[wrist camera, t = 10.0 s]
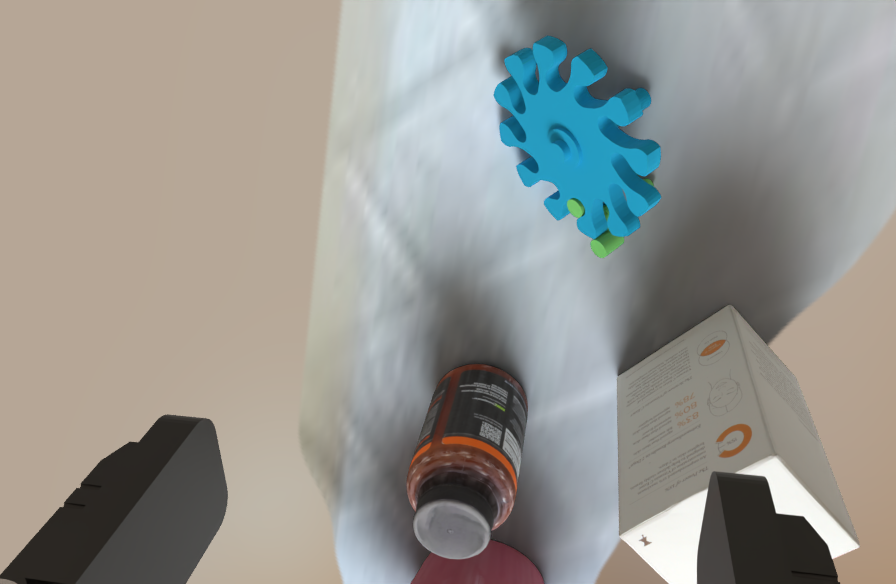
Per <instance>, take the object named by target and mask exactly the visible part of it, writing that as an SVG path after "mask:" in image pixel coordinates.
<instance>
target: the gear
mask: <svg viewBox="0 0 896 584" xmlns="http://www.w3.org/2000/svg"><path fill="white" fill-rule="evenodd" d="M566 56H567V47H566V44H565V43H564V42H563V41H561V40H559V39H558V38H555V37H552V36H546V37H544V38H542V39H540V40H539V41H537V42H535V43H534V44H533V51H532V49H531V48H524V49H521V50H519V51H518V52H516V53H514V54H512V55H510V56H509V57H507V58H505V59H504V61H505V66H506V68H507V70H508V71H509V73H510V74H511V75H512V76H511V77H509V78H508V79H506V80H504V81H502V82H501V83H499V84H498V85H497V87H496V89H495V92H494V98H495V99H496V101H497V102H498V103H499V104H500V105H501V106H502V107H504V108H506V109H507V110H509V111H510V112H511V113H512V114H513V115H514V116H511V117H510V118H508V119H506V120H505V121H503V122H501V123H500V136H501V141H502V142H503V143H504V144H505V145H507V146H509V147H511V146H515V147H519V148H521V149H523V150H524V151H526V152H527V153H528V154H530V155H531V156H532V157H529V158H528V159H526V160H525V161H523V162H522V163H520V164H518V165H517V166H516V167H517V171H518V174H519V176H520V178H521V180H522V182H523V184H524V185H525V186H527V187H531V186H532V185H534V184H535V183H537V182H538V181H540V180H544V181H549V182H552V183H553V184H554V185H556V187H557V188H558V190H559V191H557V192H555V193H554V194H552V195H551V196H549V197H548V198H546V199H545V201H544V205H545V206H546V208H547V209H548V211H549V212H550V213H551V214H552V215H553V217H554V218H555V219H556V220H561V219H562V218H564V217H565V216H566V215H568V214H569V213H571V214H572V215H573V216H575V217H577V218H578V220H577V227H578V229H579V230H580V231H581V232H582V233H584V234H585V235H587V236H588V237H590V238H593V239H594V240H592V241H591V244H590V245H591V249H592V251H593V252H594V253H595V254H596V255H597V256H598V257H600V258H604V257H606V256H607V255H608V254H610V253H611V252H612V251H614V250H615V249H617V248H618V247H619V246H621V245H622V244H623V243H624V236H629V235H630V234H632V233H633V232H634V231H636V230H637V229H638V228H640V221H639V219H638V217H639V216H642V215H643V214H644V213H646V212H647V211H648V210H650V209H651V208H653V207H654V206H655V205H656V204H657V203H658V202H659V200H660V199H661V195H660V193H659V192H658V190H657V189H656V188H655V187H654V185H653V183H652V181H651V180H649V179H647V178H646V179H642V178H640V177H639V176H638V175H640V176H647V175H648V174H649V173H651V172H652V171H654V170H655V169H656V168H658V167H659V164H660V160H661V150H660V146H659V145H658V144H657V143H656V142H655V141H653V140H649V139H648V140H639V139H636V138H633V137H631V136H629V135H627V134H626V133H624V132H623V131H621V130H620V129H619V128H617V127H618V126H627V125H628V124H630V123H631V122H633V121H635V120H636V119H638V118H639V117H641V116H642V115H643V112H642V110H644V109H645V108H647V107H649V106H650V104H651V97H650V95H649V93H648V92H647V91H646V90H645V89H643V88H638V89H636V90H635V91H634V90H633V89H630V88H627V89H624V90H623V91H621V92H620V93H618V94H616V95H615V96H613V97H612V98H610V99H609V100H599V99H595V98H593V97H592V96H591V95H590V93H589V92H588V89H587V86H589V85H591V84H593V83H594V82H596V81H598V80H599V79H601V78H602V77H604V76H605V75H606V73H607V69H608V67H607V66H606V64H605V62H604V61H603V60H602V58H601V57H600V56H599V55H598V54H597V53H596V52H595V51H594V50H592V49H591V48H590V49H588V50H586V51H584V52H583V53H581V54H579V55H578V56H576V57H575V58H573V60H572V62H571V74H570V79H569V81H568V83H565V82H564V81H563V80H562V78H561V77H560V75H559V70H558V68H559V65H560V63H561V62H563V61H564V60H565V58H566ZM536 64H537V66H538V70H539V82H538V80H537V78H536V74H535V72H536ZM636 173H637V174H638V175H637V174H636Z"/></svg>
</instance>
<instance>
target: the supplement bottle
mask: <svg viewBox="0 0 896 584" xmlns="http://www.w3.org/2000/svg"><path fill="white" fill-rule="evenodd" d="M527 412H528V405H527V399H526V395H525V393H524V391H523V389H522V387H521V386H520V384H519V383H518V382H517V381H516V380H515V379H514V378H513V377H512V376H511V375H509V374H508V373H506V372H505V371H503V370H501V369H499V368H496V367H493V366H489V365H485V364H470V365H465V366H461V367H458V368H456V369H454V370H452V371H450V372H448V373H447V374H446V375H445V376H444V377H443V378H442V379H441V381H440V382H439V384H438V385H437V387H436V390H435V392H434V394H433V397H432V400H431V403H430V406H429V409H428V413H427V416H426V419H425V422H424V425H423V427H422V431H421V434H420V437H419V440H418V443H417V446H416V449H415V453H414V455H413V459H412V462H411V465H410V468H409V472H408V476H407V484H406V486H407V494H408V498H409V501H410V503H411V506H412V507H413V509H414V511H415V515H414V519H413V529H414V532H415V535H416V537H417V539H418V540H419V542H420V543H421V544H422V545H423V546H424V547H425V548H426V549H428V550H429V551H431V552H432V553H434V554H436V555H439V556H441V557H445V558H449V559H466V558H470V557H473V556H475V555H478V554H479V553H481V552H482V551H483V550H484V549H485V548H486V547H487V545H488V543H489V540H490V537H491V531H493V530H494V529H496V528H498V527H499V526H500V525H501V524H503V522H505V520H506V519H507V518H508V516H509V515H510V513H511V511H512V509H513V506H514V502H515V498H516V491H517V486H518V478H519V471H520V464H521V457H522V449H523V443H524V436H525V429H526V422H527Z"/></svg>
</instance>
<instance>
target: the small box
mask: <svg viewBox="0 0 896 584" xmlns="http://www.w3.org/2000/svg"><path fill="white" fill-rule="evenodd" d="M617 425H618V483H619V536H620V537H621V538H622V539H623V540H624V541H625V542H626V543H627V544H628V545H630V546H631V547H632V548H633V549H634V550H635V551H636V552H637V553H638V554H639V555H640V556H641V557H642V558H643V559H644V560H645V561H646V562H647V563H648V564H649V565H650V566H651V567H652V568H654V570H655V571H656V572H657V573H658V574H660V575H661V577H663V578H664V579H665V580H666V581H667V582H668V583H669V584H697V553H698V545H699V539H700V533H701V527H702V521H703V515H704V510H705V504H706V498H707V492H708V486H709V481H710V477H711V474H712V472H713V471H717V472H727V473H737V474H747V475H757V476H764V477H766V479H767V481H768V483H769V487H770V491H771V495H772V499H773V503H774V506H775V510H776V513H778V514H787V515H796V516H804V517H805V519H806V520H807V521H808V522H809V523H810V524H811V526H812V527H813V528H814V529H815V530H816V532H817V533H818V534H819V535H820V536H821V538H822V539H823V540H824V541H825V542H826V543H827V545H828V547H829V550H830V554H831V557H832V559H834V558H837V557H839V556H841V555H843V554H845V553H848V552H850V551H852V550H854V549H857V548H859V547H860V545H859V541H858V538H857V535H856V532H855V529H854V527H853V524H852V522H851V519H850V516H849V514H848V511H847V509H846V506H845V504H844V501H843V498H842V496H841V493H840V490H839V488H838V485H837V482H836V480H835V477H834V475H833V472H832V469H831V467H830V464H829V462H828V459H827V456H826V454H825V451H824V448H823V446H822V443H821V440H820V438H819V435H818V433H817V430H816V427H815V425H814V422H813V420H812V417H811V414H810V412H809V409H808V407H807V404H806V402H805V399H804V396H803V394H802V391H801V389H800V386H799V383H798V381H797V379H796V377H795V376H794V375H793V374H792V373H791V372H790V370H789V369H788V368H787V367H786V366H785V365H784V364H783V363H782V361H781V360H780V359H779V358H778V357H777V356H776V355H775V354H774V352H773V351H772V350H771V349H770V348H769V347H768V346H767V344H766V343H765V342H764V341H763V340H762V339H761V338H760V337H759V335H758V334H757V333H756V332H755V331H754V330H753V329H752V328H751V326H750V325H749V324H748V323H747V322H746V321H745V320H744V318H743V317H742V316H741V315H740V314H739V313H738V312H737V310H736V309H735V308H734V307H733V306H732V305H727V306H726V307H724V308H723V309H721V310H720V311H718V312H717V313H715V314H714V315H712V316H711V317H709V318H707V319H706V320H704V321H703V322H701V323H700V324H698V325H696V326H695V327H693V328H692V329H690V330H689V331H687V332H686V333H684V334H683V335H681V336H680V337H678V338H676V339H675V340H673V341H672V342H670V343H669V344H667V345H665V346H664V347H662V348H661V349H659V350H658V351H656V352H655V353H653V354H652V355H650V356H649V357H647V358H646V359H644V360H643V361H641V362H640V363H638V364H636V365H635V366H633V367H632V368H630V369H629V370H627V371H626V372H624V373H623V374H621V375H620V376H618V377H617Z"/></svg>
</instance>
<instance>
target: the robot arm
mask: <svg viewBox="0 0 896 584" xmlns="http://www.w3.org/2000/svg"><path fill="white" fill-rule="evenodd" d="M227 499H228V491H227V485H226V480H225V475H224V470H223V465H222V460H221V455H220V450H219V445H218V440H217V435H216V430H215V427H214V424H213V423H212V421H211V420H210V419H206V418H196V417H186V416H176V415H164V416H162V417H160V418H159V419H158V420H157V421H156V422H155V423H154V425H153V426H152V427H151V428H150V429H149V431H148V432H147V433H146V434H145V435H144V437H143V438H142V439H141V440H140V442H138V443H137V442H129V443H127V444H126V445H124V446H123V447H121V448H120V449H118V450H116V451H115V452H114V453H112V454H111V455H109V456H107V457H106V458H104V459H103V460H101V461H100V462H99V463H98V465H97V466H96V467H95V468H94V469H93V470H92V471H91V472H90V474H89V475H88V476H87V477H86V478H85V479H84V481H83V482H82V483H81V487H80V488H76V490H75V491H74V492H73V493H72V494H71V495H70V496H69V498H68V499H67V500H66V501H65V502H64V507H60V508H59V509H58V510H57V511H56V512H55V514H54V515H53V516H52V517H51V518H50V519H49V520H48V522H47V523H46V524H45V525H44V526H43V527H42V528H41V529H40V530H39V532H38V533H37V534H36V535H35V536H34V537H33V538H32V540H31V541H30V542H29V543H28V544H27V545H26V546H25V548H24V549H23V550H22V551H21V552H20V553H19V555H17V557H16V558H15V559H14V560H13V561H12V562H11V563H10V565H9V566H8V567H7V568H6V569H5V570H4V571H3V573H2V574H1V575H0V584H186V582H187V581H188V579H189V577H190V576H191V574H192V572H193V571H194V569H195V568H196V566H197V564H198V562H199V561H200V559H201V558H202V556H203V554H204V553H205V551H206V549H207V548H208V546H209V544H210V543H211V541H212V539H213V538H214V536H215V535H216V533H217V531H218V530H219V528H220V526H221V524H222V521H223V519H224V516H225V512H226V507H227ZM837 578H838V575H837V572H836V569H835V566H834V563H833V560H832V557H831V554H830V550H829V547H828V545H827V543H826V542H825V541H824V540H823V539H822V538H821V536H820V535H819V534H818V533H817V532H816V530H815V529H814V528H813V527H812V526H811V524H810V523H809V522H808V521H807V520H806V519H805V517H804V516H796V515H787V514H778V513H776V510H775V506H774V503H773V499H772V495H771V491H770V487H769V483H768V481H767V479H766V477H764V476H757V475H747V474H737V473H727V472H717V471H713V472H712V474H711V477H710V481H709V486H708V492H707V498H706V504H705V510H704V515H703V521H702V527H701V533H700V539H699V545H698V553H697V584H840V582H838V580H837Z"/></svg>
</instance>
